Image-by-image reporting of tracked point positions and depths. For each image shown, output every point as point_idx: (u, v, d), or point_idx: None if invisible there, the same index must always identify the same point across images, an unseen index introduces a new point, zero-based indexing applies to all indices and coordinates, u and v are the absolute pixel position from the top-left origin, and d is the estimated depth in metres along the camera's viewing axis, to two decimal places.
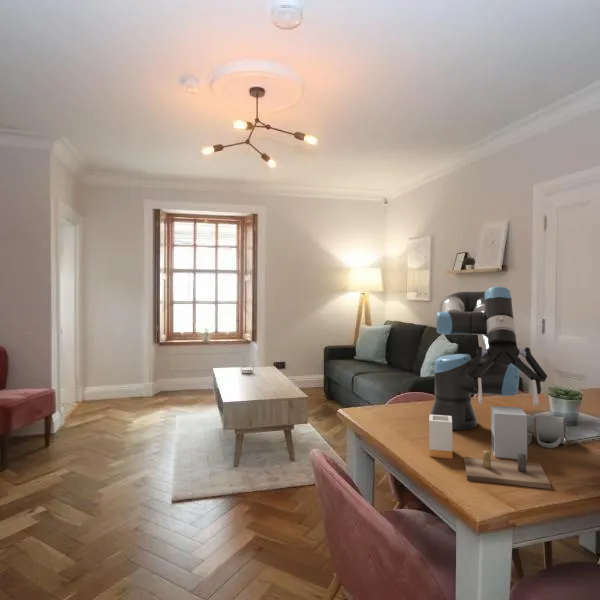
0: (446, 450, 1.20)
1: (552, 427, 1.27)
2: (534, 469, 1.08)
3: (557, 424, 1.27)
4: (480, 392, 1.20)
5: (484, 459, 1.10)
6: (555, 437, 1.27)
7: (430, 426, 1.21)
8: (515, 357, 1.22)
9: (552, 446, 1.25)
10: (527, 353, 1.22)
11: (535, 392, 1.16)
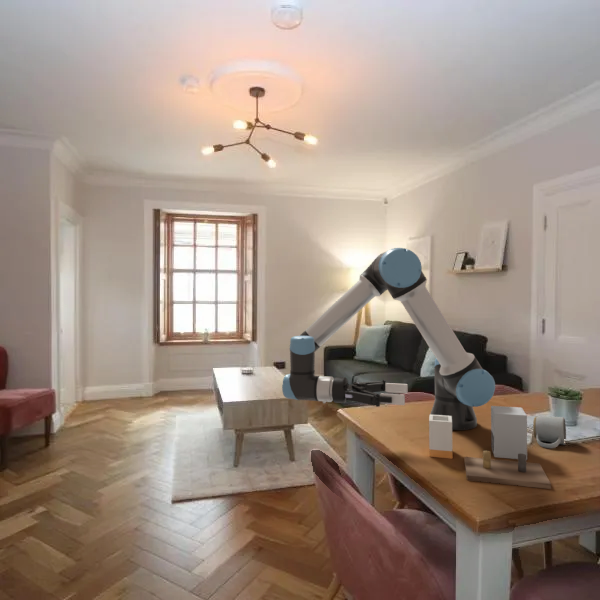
0: (446, 450, 1.20)
1: (552, 427, 1.27)
2: (534, 469, 1.08)
3: (557, 425, 1.27)
4: None
5: (484, 459, 1.10)
6: (555, 437, 1.27)
7: (430, 426, 1.21)
8: None
9: (552, 446, 1.25)
10: None
11: None
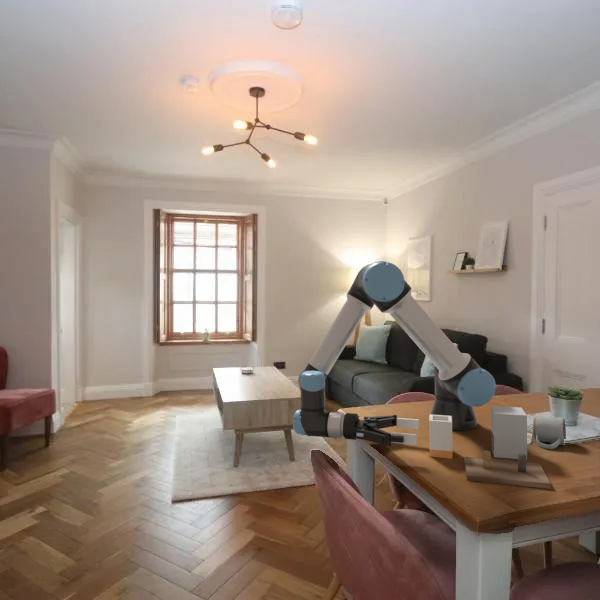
0: (446, 450, 1.20)
1: (552, 428, 1.27)
2: (534, 469, 1.08)
3: (556, 425, 1.26)
4: None
5: (484, 459, 1.10)
6: (555, 438, 1.26)
7: (430, 426, 1.21)
8: None
9: (551, 447, 1.24)
10: None
11: None
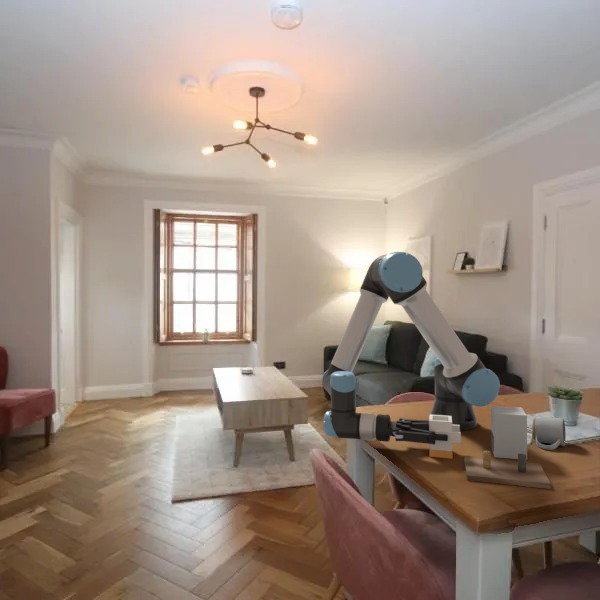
0: (446, 450, 1.20)
1: (551, 429, 1.26)
2: (534, 469, 1.08)
3: (556, 426, 1.26)
4: None
5: (484, 459, 1.10)
6: (554, 439, 1.25)
7: (430, 426, 1.21)
8: None
9: (551, 448, 1.24)
10: None
11: None
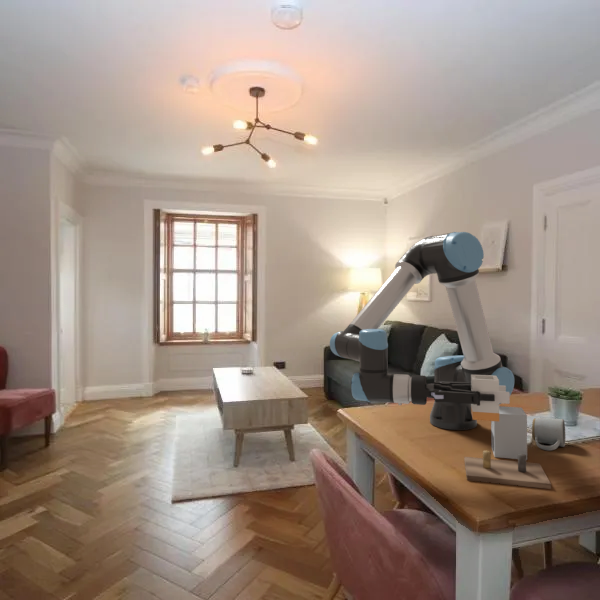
0: (492, 412, 1.06)
1: (551, 429, 1.25)
2: (534, 469, 1.08)
3: (556, 426, 1.25)
4: None
5: (484, 459, 1.10)
6: (554, 439, 1.25)
7: (473, 385, 1.07)
8: None
9: (551, 449, 1.23)
10: None
11: None
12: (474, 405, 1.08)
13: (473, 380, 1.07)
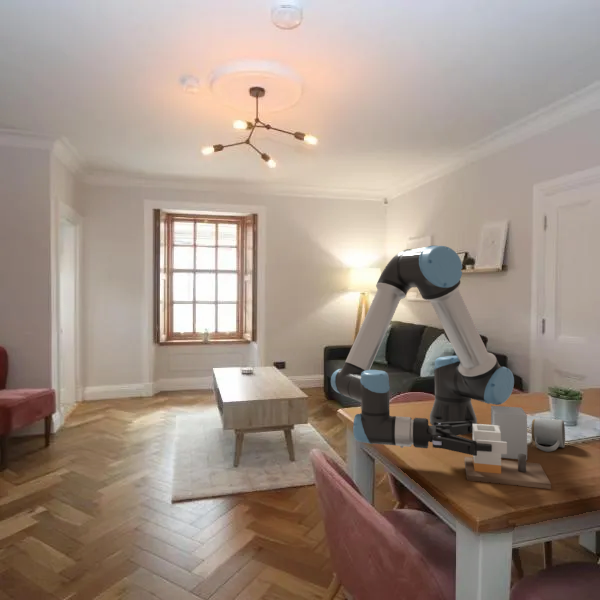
0: (494, 464, 1.07)
1: (550, 430, 1.25)
2: (534, 469, 1.08)
3: (555, 427, 1.24)
4: None
5: None
6: (553, 440, 1.24)
7: (475, 437, 1.08)
8: None
9: (550, 449, 1.22)
10: None
11: None
12: (476, 457, 1.08)
13: (475, 432, 1.08)
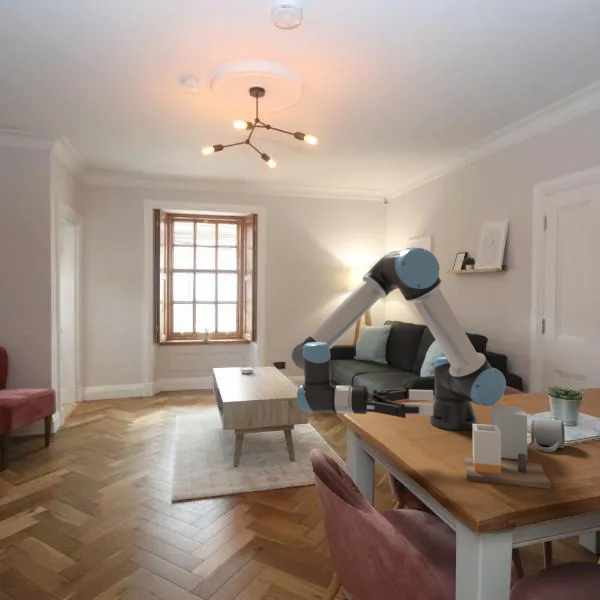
0: (494, 464, 1.07)
1: (550, 431, 1.24)
2: (534, 469, 1.08)
3: (555, 428, 1.24)
4: None
5: None
6: (553, 441, 1.24)
7: (475, 437, 1.08)
8: None
9: (550, 450, 1.22)
10: None
11: None
12: (476, 457, 1.08)
13: (475, 432, 1.08)
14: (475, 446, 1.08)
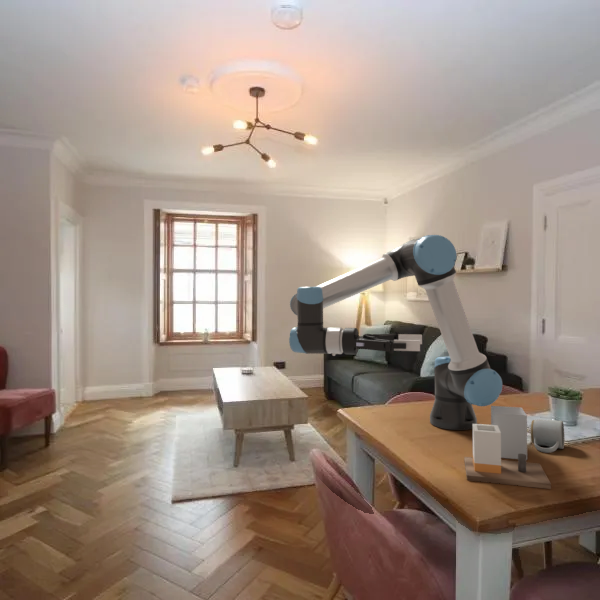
0: (494, 464, 1.07)
1: (550, 431, 1.24)
2: (534, 469, 1.08)
3: (555, 428, 1.24)
4: None
5: None
6: (553, 441, 1.23)
7: (475, 437, 1.08)
8: None
9: (550, 451, 1.21)
10: None
11: (408, 350, 1.12)
12: (476, 457, 1.08)
13: (475, 432, 1.08)
14: (475, 446, 1.08)
